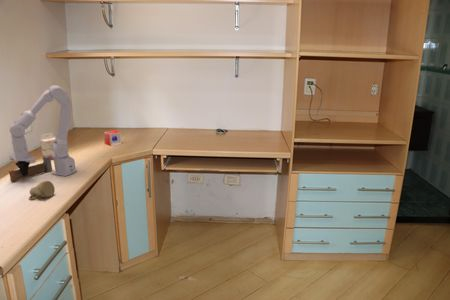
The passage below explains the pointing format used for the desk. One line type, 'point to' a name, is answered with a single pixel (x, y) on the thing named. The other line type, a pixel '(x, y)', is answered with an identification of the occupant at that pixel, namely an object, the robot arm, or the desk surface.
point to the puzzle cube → (112, 138)
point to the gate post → (47, 163)
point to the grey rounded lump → (42, 190)
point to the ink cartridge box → (47, 144)
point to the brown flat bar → (31, 172)
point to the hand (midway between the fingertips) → (25, 175)
